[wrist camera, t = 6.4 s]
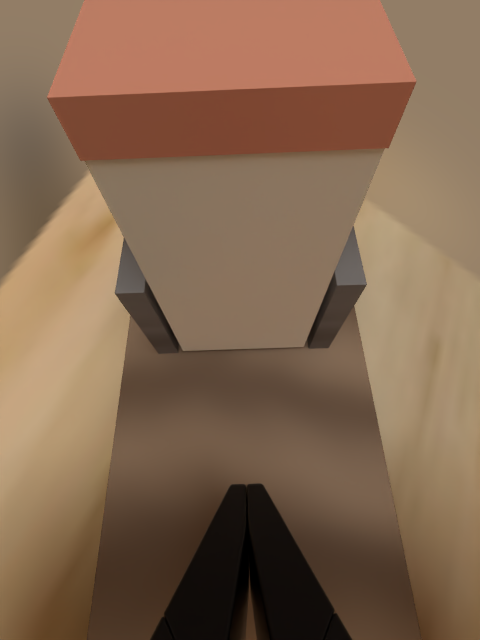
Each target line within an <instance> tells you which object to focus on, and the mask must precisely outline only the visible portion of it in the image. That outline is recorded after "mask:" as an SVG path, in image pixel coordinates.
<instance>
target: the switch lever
mask: <svg viewBox="0 0 480 640" xmlns="http://www.w3.org/2000/svg"><path fill="white" fill-rule="evenodd" d="M415 84H416V79H415V77H414V75H413V73H412V70H411V68H410V66H409V64H408V62H407V59H406V57H405V55H404V53H403V50H402V49H401V46H400V44H399V42H398V39H397V37H396V35H395V33H394V30H393V28H392V26H391V24H390V22H389V19H388V18H387V15H386V13H385V10H384V8H383V6H382V4H381V2H380V0H84V3H83V5H82V8H81V11H80V13H79V16H78V18H77V21H76V24H75V26H74V29H73V32H72V34H71V37H70V39H69V42H68V44H67V47H66V50H65V52H64V55H63V57H62V60H61V63H60V65H59V68H58V70H57V73H56V76H55V78H54V81H53V84H52V86H51V89H50V91H49V94H48V97H47V98H48V100H49V102H50V104H51V106H52V108H53V109H54V112H55V114H56V116H57V117H58V119H59V121H60V123H61V125H62V127H63V129H64V131H65V132H66V134H67V136H68V138H69V140H70V142H71V144H72V146H73V147H74V149H75V151H76V153H77V155H78V157H79V159H80V160H81V161H85V162H86V165H87V167H88V169H89V171H90V173H91V174H92V176H93V178H94V180H95V182H96V184H97V186H98V188H99V190H100V192H101V194H102V196H103V198H104V200H105V201H106V203H107V205H108V207H109V209H110V211H111V213H112V215H113V217H114V219H115V221H116V223H117V225H118V227H119V228H120V230H121V232H122V234H123V236H124V238H125V240H126V242H127V244H128V246H129V248H130V250H131V252H132V254H133V255H134V257H135V259H136V261H137V263H138V265H139V267H140V269H141V271H142V273H143V275H144V277H145V279H146V281H147V282H148V284H149V286H150V288H151V290H152V292H153V294H154V296H155V298H156V300H157V302H158V304H159V306H160V308H161V309H162V311H163V313H164V315H165V317H166V319H167V321H168V323H169V325H170V327H171V329H172V331H173V333H174V335H175V337H176V338H177V340H178V342H179V344H180V346H181V348H182V350H183V351H199V350H229V349H258V348H288V347H304V345H305V342H306V340H307V337H308V335H309V333H310V330H311V328H312V325H313V323H314V320H315V318H316V315H317V313H318V311H319V308H320V306H321V303H322V301H323V298H324V296H325V293H326V291H327V288H328V286H329V284H330V281H331V279H332V276H333V274H334V271H335V269H336V266H337V264H338V262H339V259H340V257H341V254H342V252H343V249H344V247H345V244H346V242H347V240H348V237H349V235H350V232H351V230H352V227H353V225H354V222H355V220H356V217H357V215H358V213H359V210H360V208H361V205H362V203H363V200H364V198H365V195H366V193H367V191H368V188H369V185H370V183H371V180H372V178H373V176H374V173H375V171H376V169H377V166H378V164H379V161H380V158H381V156H382V154H383V151H384V149H385V148H389V146H390V143H391V141H392V139H393V136H394V134H395V132H396V129H397V127H398V125H399V122H400V120H401V117H402V115H403V112H404V110H405V108H406V105H407V103H408V101H409V98H410V96H411V94H412V91H413V89H414V86H415Z"/></svg>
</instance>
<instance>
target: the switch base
mask: <svg viewBox="0 0 480 640" xmlns="http://www.w3.org/2000/svg"><path fill="white" fill-rule="evenodd" d="M366 285H367V283H366V279H365V274H364V270H363V266H362V261H361V257H360V253H359V248H358V244H357V239H356V235H355V231H354V226H353V227H352V230H351V232H350V235H349V237H348V240H347V242H346V244H345V247H344V249H343V252H342V254H341V257H340V259H339V262H338V264H337V266H336V269H335V271H334V274H333V276H332V279H331V281H330V284H329V286H328V288H327V291H326V293H325V296H324V298H323V301H322V303H321V306H320V308H319V311H318V313H317V315H316V318H315V320H314V323H313V325H312V328H311V330H310V333H309V335H308V337H307V340H306V342H305V345H304V347H288V348H258V349H229V350H199V351H183V350H182V348H181V346H180V344H179V342H178V340H177V338H176V337H175V335H174V333H173V331H172V329H171V327H170V325H169V323H168V321H167V319H166V317H165V315H164V313H163V311H162V309H161V308H160V306H159V304H158V302H157V300H156V298H155V296H154V294H153V292H152V290H151V288H150V286H149V284H148V282H147V281H146V279H145V277H144V275H143V273H142V271H141V269H140V267H139V265H138V263H137V261H136V259H135V257H134V255H133V254H132V252H131V250H130V248H129V246H128V244H127V242H126V240H125V238H124V241H123V247H122V253H121V259H120V265H119V272H118V278H117V284H116V290H115V294H116V296H117V297H118V298H119V300H120V301H121V303H122V304H123V305H124V307H125V308H126V310H127V311H128V312H129V314H130V315H131V316H130V323H129V331H128V338H127V345H126V353H125V360H124V368H123V375H122V383H121V390H120V397H119V405H118V412H117V420H116V427H115V435H114V442H113V449H112V457H111V464H110V472H109V479H108V487H107V494H106V502H105V509H104V516H103V524H102V531H101V539H100V546H99V554H98V561H97V568H96V576H95V583H94V591H93V598H92V606H91V613H90V620H89V628H88V635H87V640H150V638H151V636H152V634H153V632H154V630H155V628H156V626H157V624H158V622H159V620H160V619H161V617H164V615H163V614H164V611H165V609H166V607H167V605H168V603H169V602H170V600H171V598H172V596H173V594H174V592H175V590H176V588H177V586H178V584H179V582H180V580H181V578H182V577H183V575H184V573H185V571H186V569H187V567H188V565H189V563H190V561H191V559H192V557H193V555H194V553H195V552H196V550H197V548H198V546H199V544H200V542H201V540H202V538H203V536H204V534H205V532H206V530H207V528H208V527H209V525H210V523H211V521H212V519H213V517H214V515H215V513H216V511H217V509H218V507H219V505H220V503H221V502H222V500H223V498H224V496H225V494H226V492H227V490H228V488H229V486H230V485H231V484H245V485H246V487H247V485H248V484H252V483H261V484H263V485H264V487H265V488H266V490H267V492H268V494H269V495H270V497H271V499H272V501H273V502H274V504H275V506H276V508H277V509H278V511H279V513H280V515H281V516H282V518H283V520H284V522H285V523H286V525H287V527H288V529H289V530H290V532H291V534H292V535H293V537H294V539H295V541H296V542H297V544H298V546H299V548H300V549H301V551H302V553H303V555H304V556H305V558H306V560H307V562H308V563H309V565H310V567H311V569H312V570H313V572H314V574H315V576H316V577H317V579H318V581H319V583H320V584H321V586H322V588H323V590H324V591H325V593H326V595H327V597H328V598H329V600H330V602H331V604H332V605H333V607H334V609H335V613H337V614H338V615H339V617H340V619H341V621H342V622H343V624H344V626H345V628H346V629H347V631H348V633H349V634H350V636H351V638H352V639H353V640H422V639H421V634H420V629H419V624H418V619H417V614H416V609H415V604H414V599H413V594H412V590H411V585H410V580H409V575H408V570H407V565H406V560H405V555H404V550H403V545H402V540H401V535H400V530H399V525H398V520H397V515H396V510H395V506H394V501H393V496H392V491H391V486H390V481H389V476H388V471H387V466H386V461H385V456H384V451H383V446H382V441H381V436H380V431H379V426H378V422H377V417H376V412H375V407H374V402H373V397H372V392H371V387H370V382H369V377H368V372H367V367H366V362H365V357H364V352H363V347H362V342H361V338H360V333H359V328H358V323H357V318H356V313H355V308H354V305H355V303H356V302H357V300H358V298H359V297H360V295H361V293H362V292H363V290H364V288H365V287H366ZM245 640H257V637H256V630H255V622H254V614H253V607H252V599H251V590H250V576H249V598H248V611H247V624H246V638H245Z"/></svg>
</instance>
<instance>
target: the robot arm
mask: <svg viewBox="0 0 480 640" xmlns="http://www.w3.org/2000/svg"><path fill="white" fill-rule="evenodd" d="M249 576H250V590H251V599H252V607H253V614H254V622H255V630H256V637H257V640H353V639H352V638H351V636H350V634H349V633H348V631H347V629H346V628H345V626H344V624H343V622H342V621H341V619H340V617H339V615H338V614H337V613H335V609H334V607H333V605H332V604H331V602H330V600H329V598H328V597H327V595H326V593H325V591H324V590H323V588H322V586H321V584H320V583H319V581H318V579H317V577H316V576H315V574H314V572H313V570H312V569H311V567H310V565H309V563H308V562H307V560H306V558H305V556H304V555H303V553H302V551H301V549H300V548H299V546H298V544H297V542H296V541H295V539H294V537H293V535H292V534H291V532H290V530H289V529H288V527H287V525H286V523H285V522H284V520H283V518H282V516H281V515H280V513H279V511H278V509H277V508H276V506H275V504H274V502H273V501H272V499H271V497H270V495H269V494H268V492H267V490H266V488H265V487H264V485H263V484H261V483H252V484H248V485H247V487H246V485H245V484H231V485H230V486H229V488H228V490H227V492H226V494H225V496H224V498H223V500H222V502H221V503H220V505H219V507H218V509H217V511H216V513H215V515H214V517H213V519H212V521H211V523H210V525H209V527H208V528H207V530H206V532H205V534H204V536H203V538H202V540H201V542H200V544H199V546H198V548H197V550H196V552H195V553H194V555H193V557H192V559H191V561H190V563H189V565H188V567H187V569H186V571H185V573H184V575H183V577H182V578H181V580H180V582H179V584H178V586H177V588H176V590H175V592H174V594H173V596H172V598H171V600H170V602H169V603H168V605H167V607H166V609H165V611H164V614H163V615H164V617H161V619H160V620H159V622H158V624H157V626H156V628H155V630H154V632H153V634H152V636H151V638H150V640H245V638H246V624H247V611H248V598H249Z"/></svg>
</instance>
